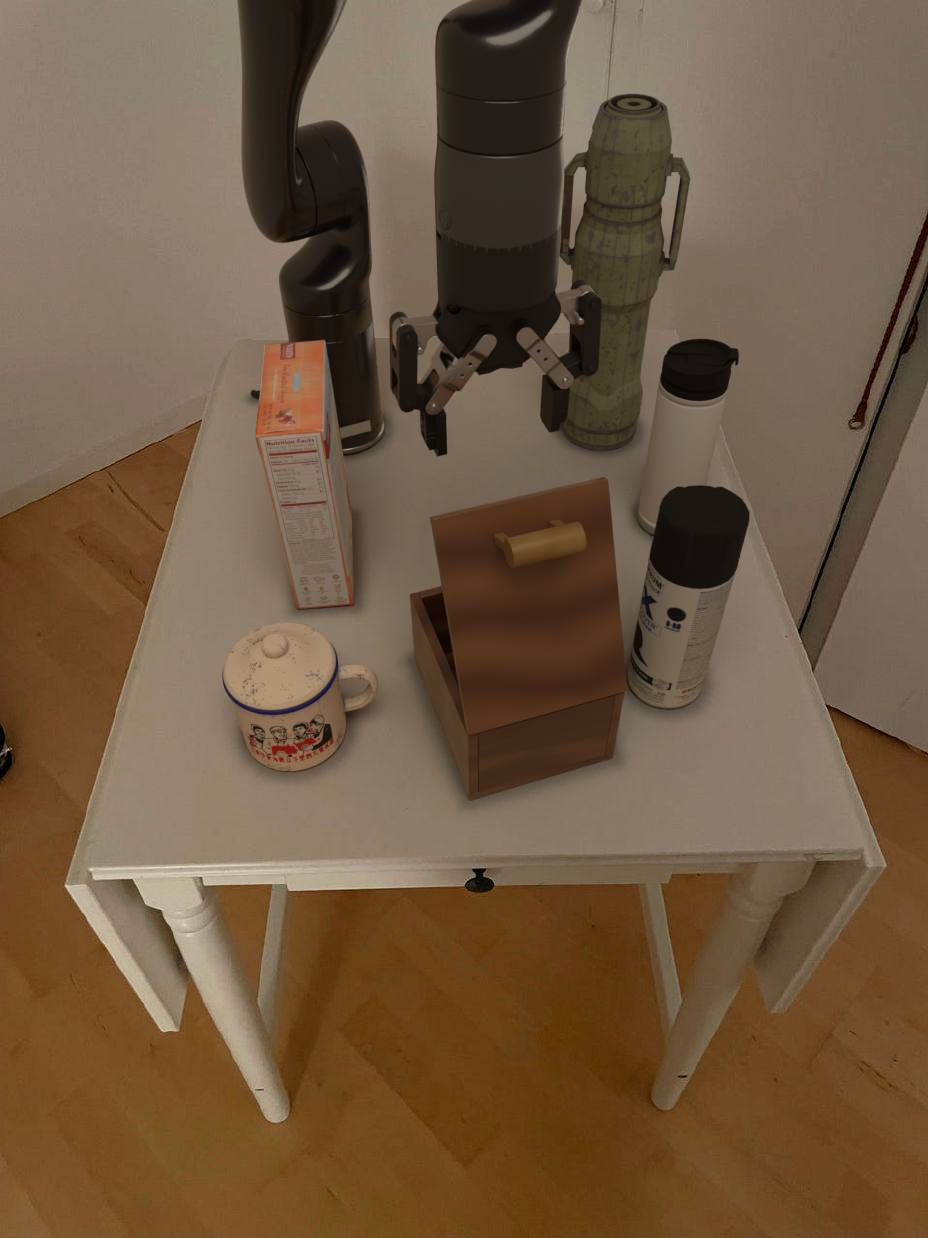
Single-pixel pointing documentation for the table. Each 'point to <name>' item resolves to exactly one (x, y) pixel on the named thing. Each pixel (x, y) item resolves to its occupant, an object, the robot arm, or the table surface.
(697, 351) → the travel mug
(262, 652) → the teacup with lid
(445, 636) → the chest
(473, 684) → the lid
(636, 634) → the spray can
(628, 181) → the thermos
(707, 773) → the table surface
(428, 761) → the table surface
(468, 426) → the table surface
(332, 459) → the cracker box
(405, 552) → the table surface
